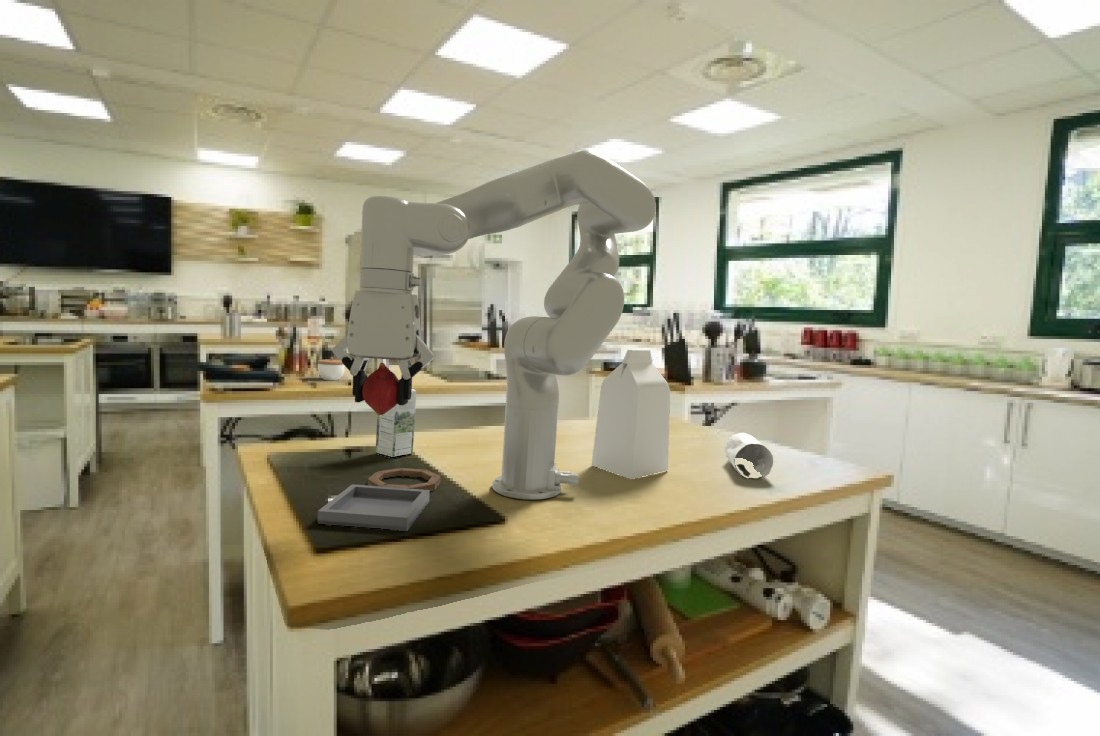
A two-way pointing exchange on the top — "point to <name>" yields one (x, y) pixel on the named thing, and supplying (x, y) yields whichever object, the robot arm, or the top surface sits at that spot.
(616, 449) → the milk
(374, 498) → the dish
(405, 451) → the syrup box
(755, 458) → the tipped white cup
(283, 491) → the top surface
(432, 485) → the ring
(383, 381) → the onion
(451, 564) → the top surface
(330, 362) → the lidded jar
